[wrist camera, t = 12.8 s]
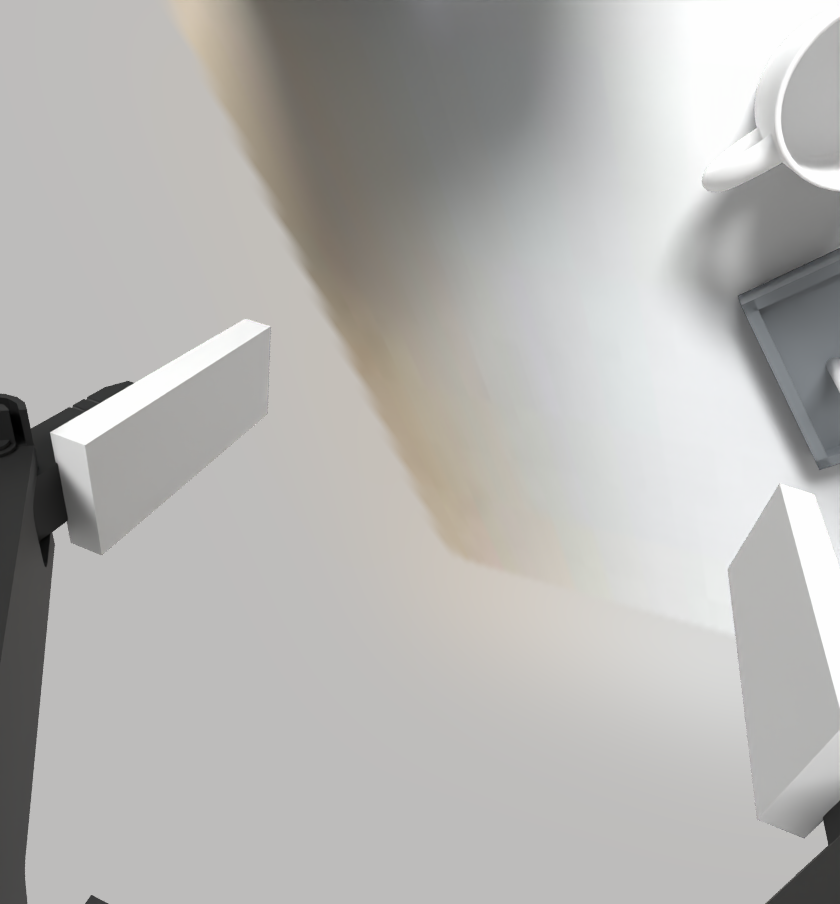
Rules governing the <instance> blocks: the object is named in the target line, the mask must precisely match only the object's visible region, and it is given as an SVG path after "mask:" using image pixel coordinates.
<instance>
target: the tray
mask: <svg viewBox="0 0 840 904" xmlns="http://www.w3.org/2000/svg"><path fill="white" fill-rule="evenodd" d="M738 297H739V301H740V304H741V307H742V309H743V311H744V313H745V315H746V317H747V319H748V321H749V323H750V325H751V328H752V330H753V332H754V334H755V336H756V338H757V340H758V342H759V344H760V346H761V348H762V351H763V353H764V355H765V357H766V359H767V361H768V363H769V365H770V367H771V369H772V371H773V374H774V376H775V378H776V380H777V382H778V384H779V386H780V388H781V390H782V392H783V394H784V397H785V399H786V401H787V403H788V405H789V407H790V409H791V411H792V413H793V415H794V417H795V420H796V422H797V424H798V426H799V428H800V430H801V432H802V434H803V436H804V438H805V440H806V443H807V445H808V447H809V449H810V451H811V453H812V455H813V457H814V459H815V461H816V464H817V466H818V468H819V470H821V469H824V468H827V467H830V466H833V465H837V464H840V249H837V250H835V251H833V252H831V253H829V254H827V255H825V256H822V257H820V258H818V259H816V260H814V261H812V262H810V263H808V264H805V265H803V266H801V267H799V268H797V269H795V270H793V271H790V272H788V273H786V274H784V275H782V276H780V277H778V278H775V279H773V280H771V281H769V282H767V283H765V284H763V285H760V286H758V287H756V288H754V289H752V290H750V291H748V292H746V293H743V294H741V295H739V296H738Z"/></svg>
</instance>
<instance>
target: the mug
mask: <svg viewBox="0 0 840 904" xmlns="http://www.w3.org/2000/svg"><path fill="white" fill-rule="evenodd" d="M754 113H755V122H756V127H757V128H756V129H754V130H753V131H751V132H750V133H749V134H747V135H746V136H744V137H743V138H742V139H740V140H739V141H737V142H736V143H735V144H733V145H732V146H731V147H729V148H728V149H727V150H726V151H724V152H723V153H722V154H721V155H720V156H719V157H717V158H716V159H715V160H714V161H713V162H712V163H711V164H710V165H709V166H708V167H707V168H706V170H705V172H704V174H703V176H702V184H703V187H704V188H705V189H706V190H707V191H710V192H723V191H726V190H729V189H732V188H734V187H736V186H739V185H741V184H743V183H745V182H747V181H749V180H751V179H753V178H755V177H757V176H759V175H761V174H763V173H764V172H766V171H768V170H770V169H772V168H774V167H776V166H777V165H779V164H781V163H784V164H785V165H786V166H787V167H788V168H790V169H791V170H792V171H794V172H795V173H796V174H797V175H799V176H800V177H801V178H802V179H804V180H806V181H807V182H809V183H810V184H813V185H815V186H817V187H820V188H823V189H827V190H830V191H837V192H840V6H839V7H836V8H834V9H831V10H829V11H827V12H824V13H822V14H820V15H818V16H816V17H814V18H813V19H811V20H809V21H808V22H806V23H805V24H803V25H802V26H801V27H799V28H798V29H797V30H795V31H794V32H793V33H792V34H791V35H790V36H789V37H788V38H787V39H786V40H785V41H784V42H783V43H782V44H781V45H780V46H779V48H778V49H777V50H776V51H775V53H774V54H773V56H772V57H771V58H770V60H769V62H768V64H767V65H766V67H765V69H764V71H763V73H762V76H761V78H760V80H759V84H758V87H757V90H756V96H755V106H754Z"/></svg>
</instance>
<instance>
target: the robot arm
mask: <svg viewBox="0 0 840 904" xmlns="http://www.w3.org/2000/svg"><path fill="white" fill-rule="evenodd" d="M270 332H271V327H270V326H268V325H265V324H262V323H258V322H255V321H252V320H249V319H244V320H242V321H240V322H239V323H237V324H235V325H234V326H232V327H230V328H228V329H227V330H225V331H223V332H221V333H220V334H218V335H216V336H215V337H213V338H211V339H209V340H208V341H206V342H204V343H203V344H201V345H199V346H197V347H196V348H194V349H192V350H191V351H189V352H187V353H185V354H184V355H182V356H180V357H179V358H177V359H175V360H173V361H172V362H170V363H168V364H167V365H165V366H163V367H161V368H160V369H158V370H156V371H155V372H153V373H151V374H149V375H148V376H146V377H144V378H143V379H141V380H139V381H137V382H136V383H133V382H129V381H126V382H123V383H119V384H115V385H112V386H108V387H105V388H103V389H101V390H99V391H97V392H96V393H94V394H92V395H90V396H89V397H87V400H85V399H83V400H81V401H80V402H78V403H76V404H74V405H73V408H67V409H65V410H64V411H62V412H60V413H58V414H57V415H55V416H53V417H51V418H49V419H48V420H46V421H44V422H42V423H40V424H39V425H37V426H35V427H33V428H30V423H29V419H28V414H27V409H26V405H25V402H23V401H22V400H20V399H19V398H18V397H14V396H10V395H7V394H0V904H27V895H26V886H25V855H26V845H27V834H28V823H29V813H30V802H31V791H32V781H33V770H34V758H35V749H36V738H37V728H38V717H39V706H40V695H41V685H42V674H43V664H44V653H45V652H44V651H45V642H46V632H47V621H48V610H49V599H50V589H51V578H52V568H53V556H54V546H55V543H54V539H53V534H52V532H53V531H54V530H56V529H57V528H58V527H60V526H61V525H62V524H63V523H65V522H66V521H67V524H68V530H69V535H70V540H71V543H73V544H76V545H78V546H80V547H83V548H85V549H88V550H90V551H93V552H95V553H98V554H100V555H103V554H104V553H105V552H106V551H107V550H109V549H110V548H111V547H112V546H113V545H114V544H116V543H117V542H118V541H119V540H120V539H121V538H123V537H124V536H125V535H126V534H127V533H129V532H130V531H131V530H132V529H133V528H134V527H135V526H137V525H138V524H139V523H140V522H141V521H143V520H144V519H145V518H146V517H147V516H148V515H150V514H151V513H152V512H153V511H154V510H155V509H157V508H158V507H159V506H160V505H161V504H163V503H164V502H165V501H166V500H167V499H168V498H169V497H171V496H172V495H173V494H174V493H175V492H176V491H178V490H179V489H180V488H181V487H182V486H183V485H185V484H186V483H187V482H188V481H190V479H192V478H193V477H194V476H195V475H197V474H198V473H199V472H200V471H201V470H202V469H203V468H205V467H206V466H207V465H208V464H209V463H211V462H212V461H213V460H214V459H215V458H216V457H218V456H219V455H220V454H221V453H222V452H224V450H226V449H227V448H228V447H229V446H231V445H232V444H233V443H234V442H235V441H236V440H238V439H239V438H240V437H241V436H242V435H243V434H245V433H246V432H247V431H248V430H249V429H251V428H252V427H253V426H254V425H255V424H256V423H257V422H259V421H260V420H261V419H262V418H263V417H265V416H266V415H267V413H268V386H269V360H270V334H271V333H270ZM728 576H729V584H730V593H731V601H732V610H733V619H734V627H735V636H736V644H737V653H738V661H739V670H740V678H741V687H742V695H743V704H744V712H745V721H746V729H747V738H748V746H749V754H750V763H751V772H752V781H753V788H754V797H755V806H756V815H757V819H758V820H760V821H762V822H765V823H767V824H770V825H772V826H775V827H777V828H780V829H782V830H785V831H787V832H790V833H792V834H794V835H797V836H799V837H802V838H805V837H806V836H807V835H808V834H809V833H811V832H812V831H813V830H814V829H815V828H816V827H817V826H818V825H819V824H820V823H821V822H822V821H824V826H825V830H826V835H827V840H828V846H827V847H826V848H825V849H824V850H823V851H822V852H821V853H820V854H819V855H817V856H816V857H815V858H814V859H813V860H812V861H811V862H810V863H809V864H808V865H806V866H805V867H804V868H803V869H802V870H801V871H800V872H799V873H798V874H797V875H796V876H795V877H794V878H793V879H792V880H790V882H788V883H787V884H786V885H785V886H784V887H783V888H782V889H781V890H780V891H778V893H776V894H775V895H774V896H773V897H772V898H771V899H770V900H769V901H768V902H767V903H765V904H840V567H839V564H838V561H837V558H836V555H835V553H834V550H833V547H832V544H831V541H830V538H829V535H828V532H827V529H826V526H825V523H824V520H823V518H822V515H821V512H820V509H819V506H818V503H817V500H816V497H815V494H812V493H809V492H806V491H802V490H799V489H796V488H793V487H790V486H786V485H783V484H779V485H778V487H777V489H776V490H775V492H774V494H773V495H772V497H771V499H770V500H769V502H768V504H767V505H766V507H765V508H764V510H763V512H762V513H761V515H760V517H759V518H758V520H757V522H756V523H755V525H754V527H753V528H752V530H751V532H750V533H749V535H748V537H747V538H746V540H745V541H744V543H743V545H742V546H741V548H740V550H739V551H738V553H737V555H736V556H735V558H734V560H733V561H732V563H731V565H730V566H729V568H728ZM85 904H108V903H106V902H104V901H102V900H100V899H98V898H96V897H94V896H93V895H91V896H90V898H89V899H88V901H87V902H86V903H85Z"/></svg>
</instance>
